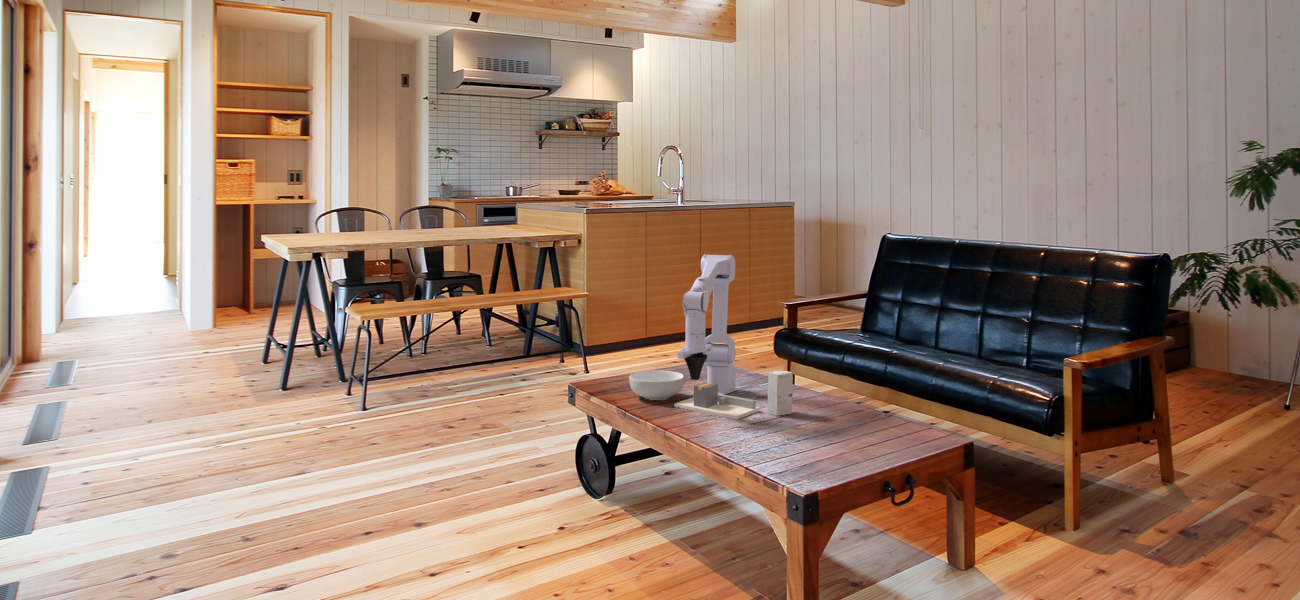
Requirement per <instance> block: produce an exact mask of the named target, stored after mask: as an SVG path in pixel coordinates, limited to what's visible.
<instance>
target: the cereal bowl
mask: <svg viewBox="0 0 1300 600" xmlns="http://www.w3.org/2000/svg"><path fill="white" fill-rule="evenodd" d="M628 379H629V380H628V381H629V385H630V389H631V390H632V391H633V392H634V394H636V395H637V396H641V397H642V398H643V399H645V400H647V399H649V400H648V401H653V400H661V401H665V400H666V399H667V400H669V399H670V398H671V397H673V396H676V395H677V394H679V393H680V391H682V389H683V388H684V385H685V384H684V383H685V376H684V374H683V373H680V372H679V371H678V372H677V371H671V370H642V371H639V372H638V371H637V372H634V373H631V374H630V375H629V377H628ZM668 398H669V399H668Z"/></svg>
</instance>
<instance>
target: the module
mask: <svg viewBox="0 0 1300 600" xmlns="http://www.w3.org/2000/svg"><path fill="white" fill-rule="evenodd" d="M693 397H694V406H698V407H703V408H708V407H711V406H714V405H716V404H718V384H713V383H708V382H707V381H705V382H702V383H699V384H696V385H693Z"/></svg>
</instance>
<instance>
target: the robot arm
mask: <svg viewBox="0 0 1300 600" xmlns="http://www.w3.org/2000/svg"><path fill="white" fill-rule="evenodd" d="M700 271H701V275H700V276H699V277H697V278H696V279H695V280H694V282H693V284H692V286H691V288H690V289H689V291H687V292H685V293H684V294H683V296H682V308H683V316H684V318H685V336H684V337H685V339H684V340H685V343H684V344H685V345H684V346H682V349H681V350H678V351H677V358H678V359H682V360H684V362H685V363H686V365H687V368H688V372H689V376H690V379H691V380H695V381H697V380H699V379H700V378H701V374H702V369H703V366H704V365H707V366H706V367H707V369H706V370H707V374H706V375H707V376H706V380H707V381H706V382H708V383H713V384H718V394H723V395H727V394H730V393H733V392H736V391H738V390H739V389H738V388H737V387H736V381H737V380H736V375H737V373H736V370H737V369H736V367H735V365H734V364H733V363H734V362H735V361H736V357H737V356H736V355H737V354H736V353H737V352H736V351H737V350H736V342H735V341H736V340H735V339H734V338H733V337H732V336H730V335H729V334H728V333H727V331H728V330H727V329H728V310H729V309H728V308H729V307H728V306H729V305H728V304H729V287H730V283H731V282H734V280H735V277H736V259H735V256H734V255H733V254H730V255H729V254H727V255H725V254H724V255H722V254H705V253H704V254H703V256H701V259H700ZM712 292H713V293H712ZM711 294H712V296H713V297H712V314H711V315H712V318H711V334H708V335H707V336H706V318H707V317H706V316H707V315H706V312H707V311H708V308H709V303H710V295H711Z"/></svg>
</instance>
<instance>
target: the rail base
mask: <svg viewBox="0 0 1300 600" xmlns="http://www.w3.org/2000/svg"><path fill="white" fill-rule="evenodd" d="M756 402H757V400H755V399H749V398H743V397H738V396H732V395H727V394H725V395H723V394H718V404H716V405H714V406H711V407H708V408H703V407H698V406H694V396H693V397H690V398H688V399H687V398H686V399H684V400H681V401H679V402H676V403H674V407H675V408H678V407H679V408H678V409H683V408H684V410H687V409H688V410H689V411H692V410H693V412H698V413H702V414H703V413H704V414H709V415H711V416H712V415H713V416H717V417H723V418H727V419H733V420H739V419H742V418H744V417H746V416H749V415H752V414H754V413H757V412H759V411H760V407H759V406H756V405H757V403H756Z"/></svg>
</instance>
